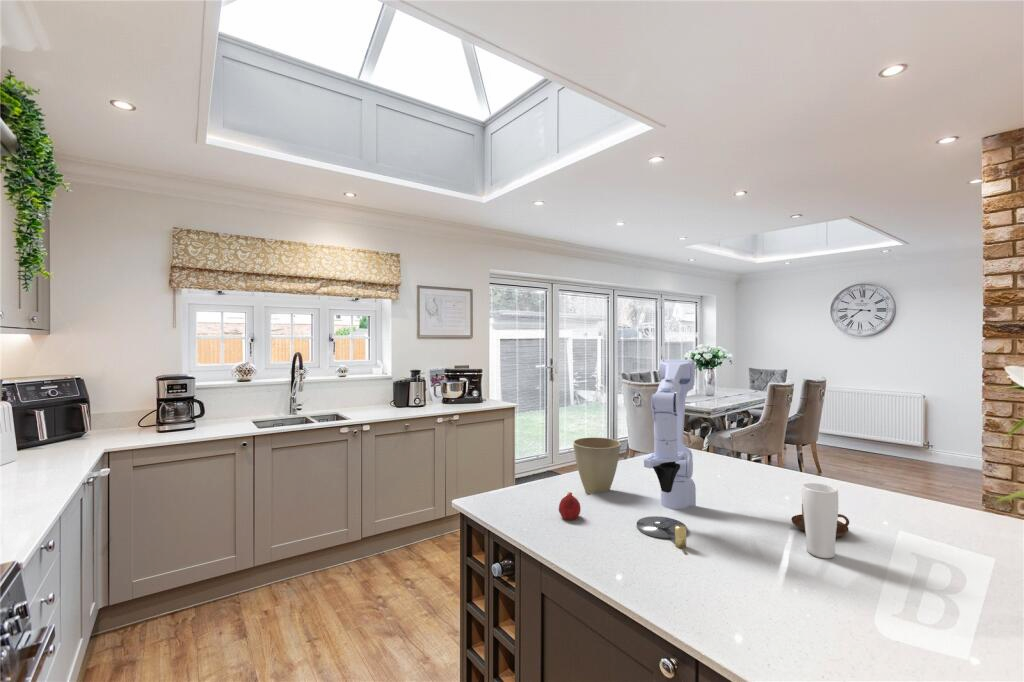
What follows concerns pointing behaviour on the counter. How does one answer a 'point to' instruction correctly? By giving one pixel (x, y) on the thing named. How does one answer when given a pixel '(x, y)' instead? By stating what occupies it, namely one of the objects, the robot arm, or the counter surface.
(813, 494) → the drinking glass
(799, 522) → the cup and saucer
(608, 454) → the plant pot
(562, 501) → the onion
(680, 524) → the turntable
